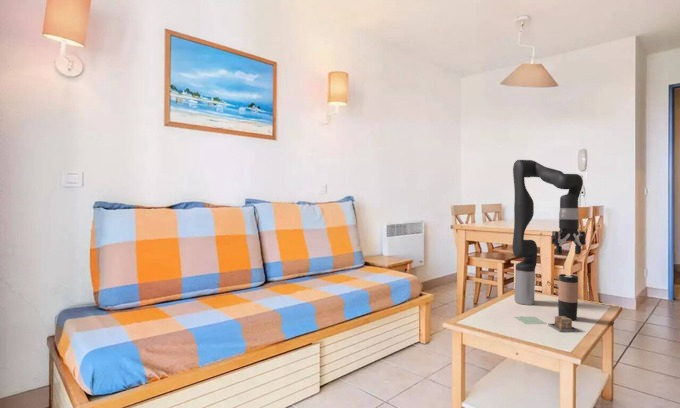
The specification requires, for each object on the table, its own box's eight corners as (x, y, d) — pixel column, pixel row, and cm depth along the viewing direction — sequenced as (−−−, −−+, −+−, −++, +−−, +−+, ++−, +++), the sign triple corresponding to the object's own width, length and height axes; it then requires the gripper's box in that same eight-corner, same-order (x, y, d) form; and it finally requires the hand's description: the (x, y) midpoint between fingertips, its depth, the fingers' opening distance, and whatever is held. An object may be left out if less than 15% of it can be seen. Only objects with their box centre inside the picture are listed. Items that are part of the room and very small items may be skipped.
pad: (513, 317, 177) (513, 316, 177) (534, 317, 177) (534, 316, 177) (525, 325, 167) (525, 324, 167) (547, 324, 167) (547, 323, 167)
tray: (548, 326, 165) (548, 323, 165) (565, 326, 166) (565, 323, 166) (560, 332, 157) (560, 330, 157) (578, 332, 158) (578, 329, 158)
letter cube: (554, 326, 164) (554, 316, 163) (564, 326, 164) (564, 315, 164) (561, 330, 159) (561, 319, 159) (571, 330, 159) (572, 319, 159)
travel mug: (567, 322, 170) (568, 277, 170) (553, 317, 178) (554, 274, 177) (581, 321, 173) (582, 277, 172) (567, 315, 180) (568, 273, 179)
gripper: (578, 217, 175) (577, 253, 176) (548, 217, 174) (548, 253, 174) (589, 218, 168) (589, 255, 168) (559, 218, 167) (558, 255, 167)
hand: (568, 254), depth 171 cm, fingers open, 8 cm apart
